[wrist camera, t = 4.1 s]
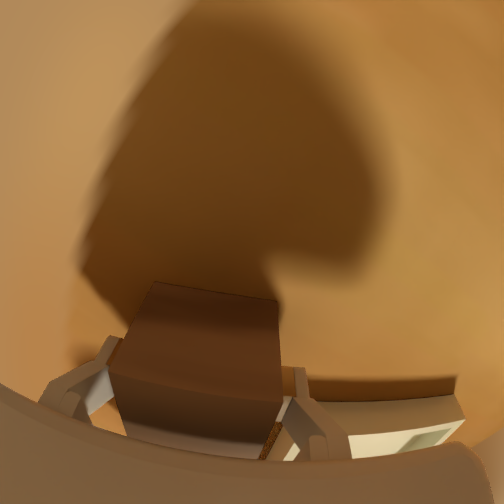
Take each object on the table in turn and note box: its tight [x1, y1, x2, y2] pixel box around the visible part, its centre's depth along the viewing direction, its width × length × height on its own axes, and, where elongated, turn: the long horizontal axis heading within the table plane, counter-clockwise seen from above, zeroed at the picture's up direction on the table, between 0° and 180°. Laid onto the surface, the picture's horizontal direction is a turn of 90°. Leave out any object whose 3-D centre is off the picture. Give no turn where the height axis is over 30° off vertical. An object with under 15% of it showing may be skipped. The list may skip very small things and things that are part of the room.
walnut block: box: [108, 282, 284, 459], centre depth 11 cm, size 5×5×5 cm
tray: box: [265, 394, 466, 461], centre depth 17 cm, size 14×12×2 cm
